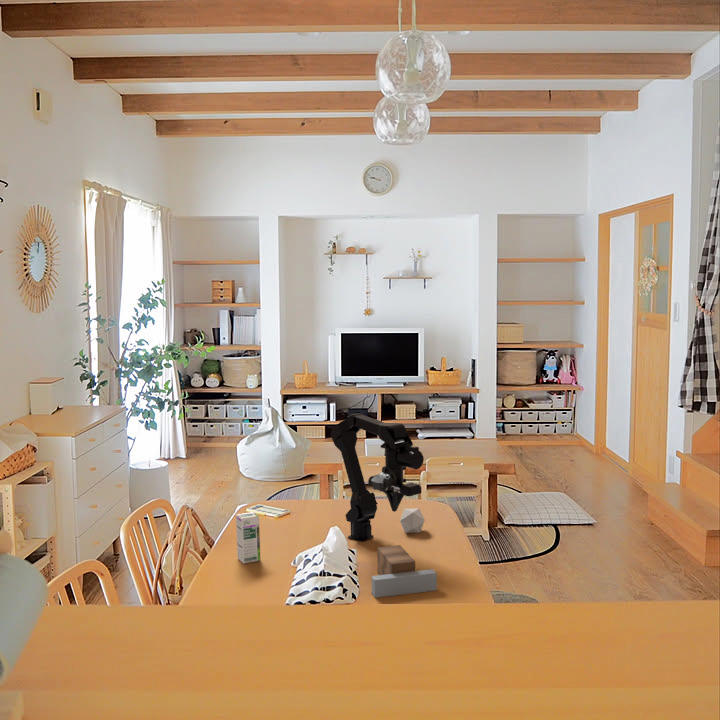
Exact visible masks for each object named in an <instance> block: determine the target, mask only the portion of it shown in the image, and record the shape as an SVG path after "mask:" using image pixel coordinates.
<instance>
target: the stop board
mask: <svg viewBox="0 0 720 720" xmlns="http://www.w3.org/2000/svg"><path fill="white" fill-rule="evenodd" d="M437 577H438V576H437V572H436V571H435V569H434V568H433V569H432V568H431V569H430V568H429V569H424V570H423V569H422V570H415V571H412V572H404V573H395V574H386V575H379V574H377V575H372V576H371V594H372V596H373V597H374V599H375V598H384V597H385V598H386V597H393V596H400V595H401V596H402V595H408V594H409V595H410V594H419V593H425V592H426V593H427V592H433V591H435V592H436V591H437V589H438V587H437V586H438V585H437V583H438V582H437V581H438V578H437Z"/></svg>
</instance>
